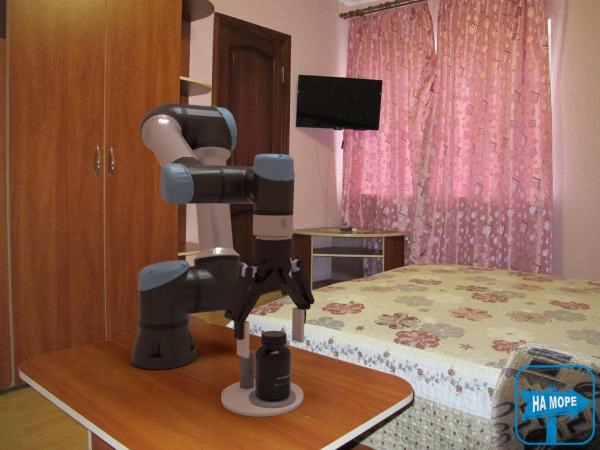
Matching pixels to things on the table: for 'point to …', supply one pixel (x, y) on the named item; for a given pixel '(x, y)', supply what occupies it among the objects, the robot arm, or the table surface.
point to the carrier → (245, 400)
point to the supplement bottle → (273, 367)
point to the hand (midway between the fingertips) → (271, 348)
